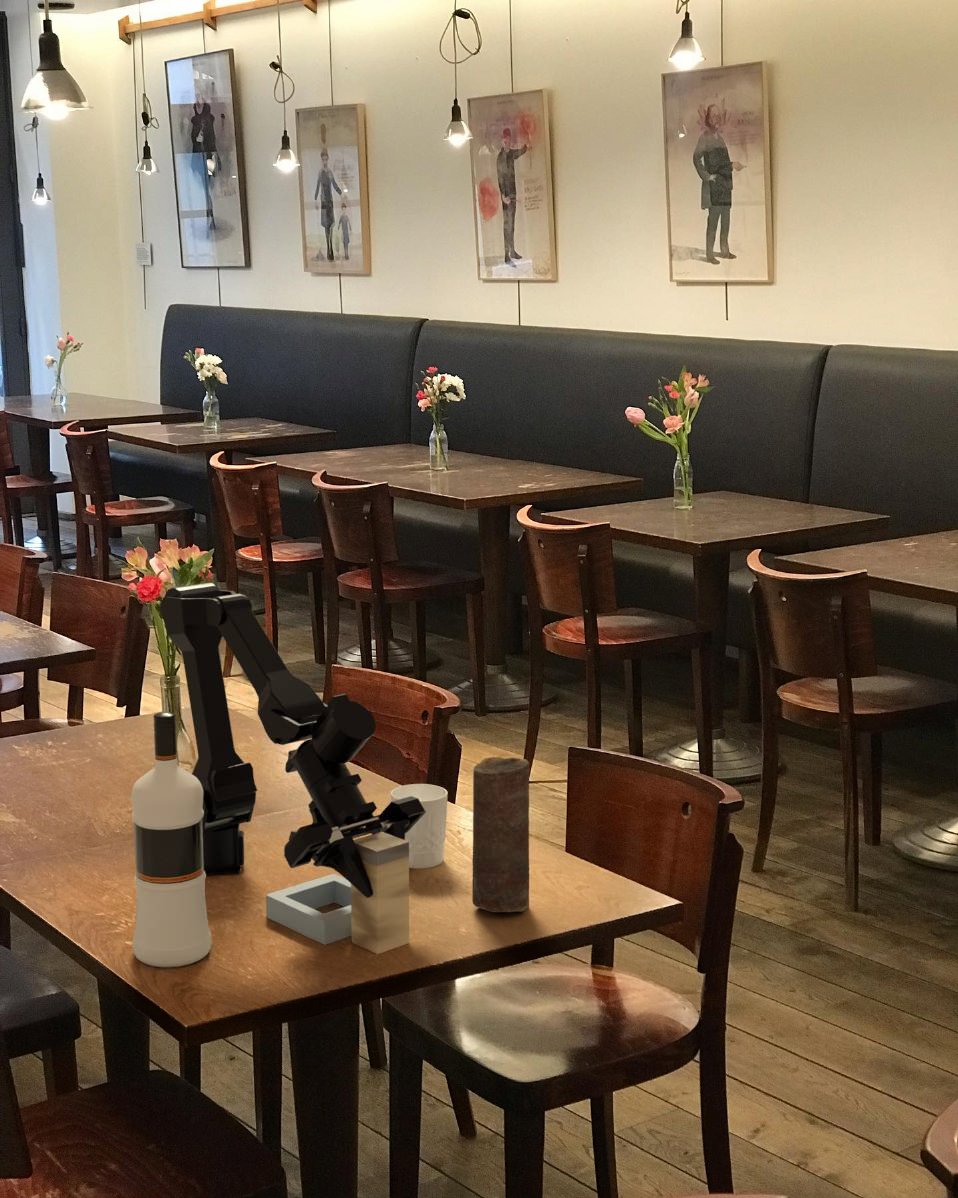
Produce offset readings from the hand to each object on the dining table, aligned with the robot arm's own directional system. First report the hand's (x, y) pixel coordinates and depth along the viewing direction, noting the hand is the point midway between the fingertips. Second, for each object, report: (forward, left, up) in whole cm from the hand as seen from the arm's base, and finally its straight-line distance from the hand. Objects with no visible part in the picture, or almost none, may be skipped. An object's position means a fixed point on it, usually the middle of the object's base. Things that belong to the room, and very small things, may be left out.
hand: (387, 890), depth 194 cm
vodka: (-26, 0, -7) cm, 27 cm away
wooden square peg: (-1, +1, -7) cm, 7 cm away
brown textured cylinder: (+15, +10, -7) cm, 20 cm away
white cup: (+6, +29, -7) cm, 31 cm away
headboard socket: (-7, +9, -7) cm, 13 cm away
